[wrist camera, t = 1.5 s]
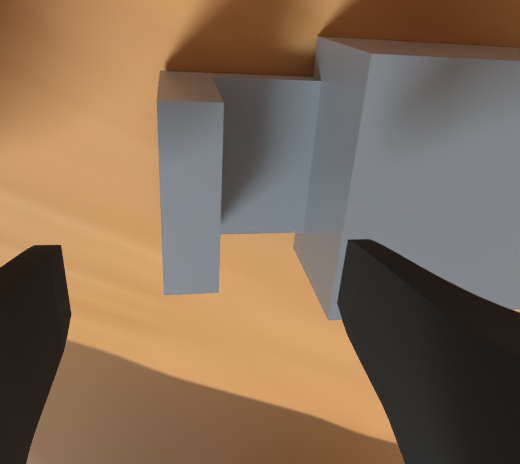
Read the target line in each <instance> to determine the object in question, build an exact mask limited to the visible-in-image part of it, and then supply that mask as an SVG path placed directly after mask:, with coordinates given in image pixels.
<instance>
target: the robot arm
mask: <svg viewBox="0 0 520 464" xmlns="http://www.w3.org/2000/svg"><path fill="white" fill-rule="evenodd" d="M337 305H338V308H339V311H340V314H341V318H342V321H343V324H344V327H345V329H346V332H347V335H348V337H349V339H350V341H351V343H352V345H353V347H354V349H355V352H356V354H357V356H358V358H359V360H360V362H361V364H362V366H363V368H364V369H365V371H366V373H367V375H368V377H369V379H370V381H371V383H372V385H373V387H374V389H375V391H376V393H377V395H378V397H379V399H380V401H381V403H382V405H383V408H384V410H385V412H386V414H387V417H388V419H389V421H390V424H391V427H392V429H393V432H394V435H395V437H396V440H397V443H398V446H399V448H400V451H401V453H402V456H403V459H404V462H405V464H520V313H519V312H516V311H513V310H511V309H508V308H506V307H503V306H501V305H498V304H496V303H494V302H491V301H489V300H486V299H484V298H482V297H479V296H477V295H475V294H473V293H471V292H469V291H466V290H464V289H462V288H460V287H458V286H456V285H454V284H452V283H450V282H448V281H446V280H445V279H443V278H441V277H439V276H437V275H435V274H433V273H432V272H430V271H428V270H426V269H424V268H423V267H421V266H419V265H417V264H415V263H414V262H412V261H410V260H408V259H407V258H405V257H403V256H401V255H400V254H398V253H396V252H394V251H393V250H391V249H389V248H387V247H385V246H384V245H382V244H380V243H378V242H375V241H373V240H371V239H350V240H348V241H347V247H346V253H345V259H344V265H343V271H342V277H341V283H340V288H339V294H338V300H337ZM70 318H71V309H70V303H69V296H68V289H67V283H66V276H65V269H64V263H63V256H62V249H61V245H34V246H32V247H30V248H28V249H27V250H25V251H24V252H22V253H21V254H19V255H18V256H16V257H15V258H13V259H12V260H11V261H9V262H8V263H6V264H5V265H3V266H2V267H1V268H0V464H26V462H27V458H28V453H29V449H30V446H31V443H32V440H33V437H34V433H35V430H36V427H37V424H38V422H39V419H40V416H41V414H42V410H43V408H44V405H45V403H46V400H47V397H48V394H49V391H50V389H51V386H52V383H53V380H54V377H55V375H56V372H57V369H58V366H59V363H60V361H61V358H62V355H63V352H64V348H65V344H66V339H67V334H68V329H69V324H70Z"/></svg>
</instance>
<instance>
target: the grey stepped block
mask: <svg viewBox="0 0 520 464" xmlns="http://www.w3.org/2000/svg"><path fill="white" fill-rule="evenodd" d="M157 117H158V144H159V172H160V200H161V227H162V255H163V282H164V295H180V294H202V293H219V262H220V234H255V233H295V242H294V250H295V252H296V254H297V256H298V258H299V260H300V262H301V264H302V267H303V269H304V271H305V273H306V275H307V277H308V279H309V281H310V283H311V285H312V287H313V289H314V292H315V294H316V296H317V298H318V300H319V302H320V304H321V306H322V308H323V310H324V312H325V314H326V317H327V319H328V320H342V318H341V314H340V311H339V308H338V305H337V300H338V294H339V288H340V283H341V277H342V271H343V265H344V259H345V253H346V247H347V241H348V240H350V239H371V240H373V241H375V242H378V243H380V244H382V245H384V246H385V247H387V248H389V249H391V250H393V251H394V252H396V253H398V254H400V255H401V256H403V257H405V258H407V259H408V260H410V261H412V262H414V263H415V264H417V265H419V266H421V267H423V268H424V269H426V270H428V271H430V272H432V273H433V274H435V275H437V276H439V277H441V278H443V279H445V280H446V281H448V282H450V283H452V284H454V285H456V286H458V287H460V288H462V289H464V290H466V291H469V292H471V293H473V294H475V295H477V296H479V297H482V298H484V299H486V300H489V301H491V302H494V303H496V304H498V305H501V306H503V307H506V308H508V309H511V310H513V309H520V48H518V47H500V46H483V45H465V44H447V43H430V42H412V41H395V40H377V39H359V38H342V37H324V36H317V43H316V52H315V61H314V70H313V77H303V76H278V75H253V74H228V73H203V72H178V71H160V77H159V86H158V95H157Z"/></svg>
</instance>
